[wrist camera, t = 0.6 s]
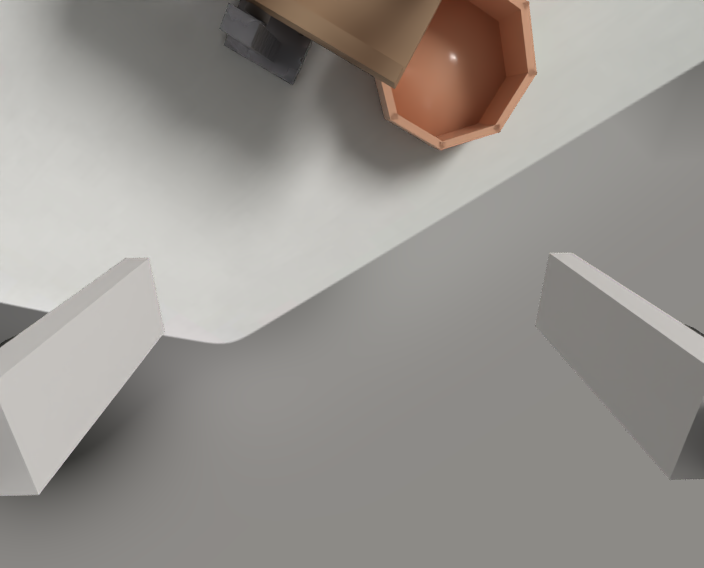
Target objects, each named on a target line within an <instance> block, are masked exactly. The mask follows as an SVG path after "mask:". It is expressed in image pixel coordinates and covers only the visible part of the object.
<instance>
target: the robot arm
mask: <svg viewBox="0 0 704 568" xmlns="http://www.w3.org/2000/svg"><path fill="white" fill-rule="evenodd" d="M535 327H536V328H537V329H538V330H539V331H540V332H541V333H542V335H543V336H544V337H545V338H546V339H547V340H548V341H549V343H550V344H551V345H552V346H553V347H554V348H555V349H556V350H557V352H558V353H559V354H560V355H561V356H562V357H563V359H564V360H565V361H566V362H567V363H568V364H569V365H570V367H571V368H572V369H573V370H574V371H575V372H576V373H577V375H578V376H579V377H580V378H581V379H582V380H583V381H584V383H585V384H586V385H587V386H588V387H589V388H590V389H591V390H592V392H593V393H594V394H595V395H596V396H597V397H598V398H599V400H600V401H601V402H602V403H603V404H604V405H605V406H606V408H607V409H608V410H609V411H610V412H611V413H612V414H613V416H614V417H615V418H616V419H617V420H618V421H619V422H620V424H621V425H622V426H623V427H624V428H625V429H626V430H627V431H628V433H629V434H630V435H631V436H632V437H633V438H634V440H635V441H636V442H637V443H638V444H639V445H640V446H641V448H642V449H643V450H644V451H645V452H646V453H647V454H648V455H649V457H650V458H651V459H652V460H653V461H654V462H655V464H656V465H657V466H658V467H659V468H660V469H661V470H662V471H663V473H664V474H665V475H666V476H667V477H668V478H669V479H670V480H675V479H704V334H702V333H700V332H699V331H698V330H696V329H694V328H692V327H690V326H687V325H685V324H683V323H681V322H679V321H678V320H676V319H674V318H673V317H671V316H670V315H668V314H667V313H665V312H663V311H662V310H660V309H659V308H657V307H656V306H654V305H653V304H651V303H649V302H648V301H646V300H645V299H643V298H642V297H640V296H639V295H637V294H636V293H634V292H632V291H631V290H629V289H628V288H626V287H624V286H623V285H621V284H620V283H618V282H617V281H615V280H614V279H612V278H610V277H609V276H607V275H606V274H604V273H603V272H601V271H600V270H598V269H597V268H595V267H593V266H592V265H590V264H589V263H587V262H586V261H584V260H583V259H581V258H579V257H578V256H576V255H575V254H573V253H549V257H548V262H547V267H546V272H545V277H544V282H543V288H542V292H541V298H540V303H539V308H538V313H537V318H536V323H535ZM164 332H165V331H164V326H163V321H162V317H161V312H160V307H159V302H158V298H157V293H156V288H155V283H154V278H153V274H152V269H151V264H150V259H149V258H125V259H123V260H122V261H121V262H119V263H118V264H116V265H115V266H114V267H112V268H111V269H109V270H108V271H107V272H105V273H104V274H102V275H101V276H100V277H98V278H97V279H95V280H94V281H93V282H91V283H90V284H88V285H87V286H86V287H84V288H83V289H81V290H80V291H79V292H77V293H76V294H74V295H73V296H72V297H70V298H69V299H67V300H66V301H65V302H63V303H62V304H60V305H59V306H58V307H56V308H55V309H53V310H52V311H51V312H49V313H48V314H47V315H45V316H44V317H42V318H41V319H39V320H38V321H37V322H35V323H34V324H32V325H31V326H30V327H28V328H27V329H25V330H24V331H23V332H21V333H20V334H18V335H16V336H14V337H12V338H10V339H8V340H5V341H4V342H2V343H1V344H0V495H1V496H10V495H39V494H40V492H41V491H42V490H43V489H44V487H45V486H46V485H47V484H48V482H49V481H50V479H51V478H52V477H53V476H54V474H55V473H56V472H57V470H58V469H59V468H60V467H61V465H62V464H63V463H64V461H65V460H66V459H67V458H68V456H69V455H70V454H71V452H72V451H73V450H74V448H75V447H76V446H77V444H78V443H79V442H80V441H81V440H82V438H83V437H84V436H85V434H86V433H87V432H88V430H89V429H90V428H91V427H92V425H93V424H94V423H95V421H96V420H97V419H98V418H99V416H100V415H101V414H102V412H103V411H104V410H105V408H106V407H107V406H108V404H109V403H110V402H111V401H112V399H113V398H114V397H115V395H116V394H117V393H118V392H119V390H120V389H121V388H122V386H123V385H124V384H125V383H126V381H127V380H128V379H129V377H130V376H131V375H132V374H133V372H134V371H135V370H136V368H137V367H138V366H139V364H140V363H141V362H142V361H143V359H144V358H145V357H146V355H147V354H148V353H149V352H150V350H151V349H152V347H153V346H154V345H155V344H156V343H157V341H158V340H159V339H160V337H161V336H162V335H163V333H164Z"/></svg>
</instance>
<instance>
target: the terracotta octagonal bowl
mask: <svg viewBox="0 0 704 568" xmlns="http://www.w3.org/2000/svg"><path fill="white" fill-rule="evenodd" d="M535 75H537V72H536V63H535V54H534V45H533V36H532V27H531V18H530V9H529V1H526V0H442V1H441V3H440V5H439V6H438V8H437V10H436V12H435V14H434V16H433V18H432V20H431V22H430V24H429V25H428V27H427V29H426V31H425V33H424V35H423V37H422V39H421V41H420V43H419V45H418V46H417V48H416V50H415V52H414V54H413V56H412V58H411V60H410V62H409V64H408V65H407V67H406V69H405V71H404V73H403V75H402V77H401V79H400V81H399V83H398V85H397V86H396V88H395V89H394V88H392V87H390V86H389V85H387V84H385V83H384V82H382V81H380V80H379V79H377V78H375V77H374V78H375V82H376V86H377V90H378V94H379V98H380V102H381V106H382V110H383V115H384V119H385V120H388V121H389V122H391V123H393V124H394V125H396V126H398V127H399V128H401V129H403V130H405V131H406V132H408V133H410V134H411V135H413V136H415V137H416V138H418V139H420V140H421V141H423V142H425V143H427V144H428V145H429V146H431V147H434V148H436V149H438V150H443V149H446V148H449V147H453V146H456V145H459V144H462V143H466V142H469V141H472V140H475V139H479V138H482V137H485V136H488V135H492V134H495V133H499V132H501V129H502V127H503V126H504V124H505V123H506V121H507V120H508V118H509V116H510V115H511V113H512V112H513V110H514V108H515V107H516V105H517V104H518V102H519V101H520V99H521V97H522V96H523V94H524V93H525V91H526V90H527V88H528V86H529V85H530V83H531V82H532V80H533V78H534V77H535Z"/></svg>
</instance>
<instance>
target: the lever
mask: <svg viewBox="0 0 704 568" xmlns="http://www.w3.org/2000/svg"><path fill="white" fill-rule="evenodd" d="M245 1H247V3H246V6H245V9H244V10H245V11H246V12H247V13H249V14H250V15H252V16H253V17H255V18H256V19H258V20H260V21H261V22H263V23H265V24H268V22H269V20H270V17H271V16H272V17H274V18H276V19H277V20H279V21H281V22H282V23H284V24H286V25H287V26H289V27H291V28H292V29H294V30H296V31H297V32H299V33H301V34H303V35H304V36H306V37H308V38H309V39H311V40H313V41H314V42H316V43H318V44H319V45H321V46H323V47H324V48H326V49H328V50H330V51H331V52H333V53H335V54H336V55H338V56H340V57H341V58H343V59H345V60H346V61H348V62H350V63H351V64H353V65H355V66H357V67H358V68H360V69H362V70H363V71H365V72H367V73H368V74H370V75H372V76H373V77H375V78H377V79H379V80H380V81H382V82H384V83H385V84H387V85H389V86H390V87H392V88H394V89H395V88H396V86H397V85H398V83H399V81H400V79H401V77H402V75H403V73H404V71H405V69H406V67H407V65H408V64H409V62H410V60H411V58H412V56H413V54H414V52H415V50H416V48H417V46H418V45H419V43H420V41H421V39H422V37H423V35H424V33H425V31H426V29H427V27H428V25H429V24H430V22H431V20H432V18H433V16H434V14H435V12H436V10H437V8H438V6H439V5H440V3H441V1H442V0H245Z"/></svg>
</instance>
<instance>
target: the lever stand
mask: <svg viewBox="0 0 704 568" xmlns="http://www.w3.org/2000/svg"><path fill="white" fill-rule="evenodd" d="M246 3H247V1H245V0H240V3H239V5H238V8H237V7H235V6H233V5H232V4H230V3H229V4H228V6H227V9H226V12H225V15H224V18H223V20H222V23H221V26H220V29H221V30H222V31H224V32H225V33H227V34H228V35H227V38H226V41H225V43H224V45H225V46H226V47H228V48H230V49H232V50H233V51H235V52H237V53H238V54H240V55H242V56H244V57H245V58H247V59H249V60H250V61H252V62H254V63H256V64H257V65H259V66H261V67H263V68H264V69H266V70H268V71H269V72H271V73H273V74H275V75H276V76H278V77H280V78H282V79H283V80H285V81H287V82H288V83H290V84H292V85H293V84H294V81H295V79H296V77H297V75H298V72H299V70H300V68H301V65H302V63H303V61H304V59H305V56H306V54H307V52H308V49H309V47H310V45H311V43H312V40H311V39H309V38H308V37H306V36H304V35H303V34H301V33H299V32H297V31H296V30H294V29H292V28H291V27H289V26H287V25H286V24H284V23H282V22H281V21H279V20H277V19H276V18H274V17H272V16H271V17H270V20H269V22H268V24H265V23H263V22H261V21H260V20H258V19H256V18H255V17H253V16H252V15H250V14H249V13H247V12H246V11H245V10H244V9H245V6H246Z"/></svg>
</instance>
